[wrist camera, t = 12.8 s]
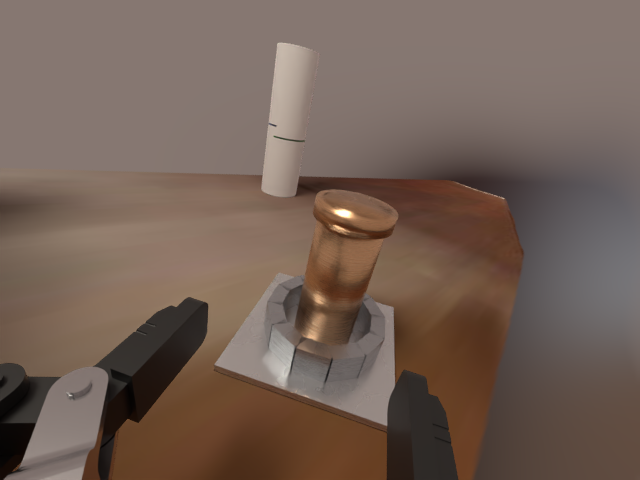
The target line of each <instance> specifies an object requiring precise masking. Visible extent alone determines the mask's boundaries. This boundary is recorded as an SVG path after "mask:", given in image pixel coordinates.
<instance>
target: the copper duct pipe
mask: <svg viewBox="0 0 640 480" xmlns="http://www.w3.org/2000/svg"><path fill="white" fill-rule="evenodd" d="M313 215H314V217H315V218H316V219H317V222H316V227H315V231H314V236H313V241H312V245H311V250H310V254H309V259H308V264H307V268H306V273H305V277H304V282H303V287H302V291H301V296H300V300H299V305H298V309H297V314H296V319H295V323H294V328H295V329H296V330H297V331H298V332H300V333H301V334H302V335H303V336H304V337H306V338H309V339H312V340H315V341H318V342H321V343H324V344H327V345H330V346H333V345H343V344H348V343H349V340H350V337H351V334H352V331H353V328H354V325H355V322H356V319H357V316H358V313H359V311H360V308H361V305H362V302H363V299H364V296H365V293H366V290H367V287H368V284H369V281H370V279H371V276H372V273H373V270H374V267H375V264H376V261H377V258H378V255H379V252H380V249H381V247H382V244H383V241H384V238H387V237H389V236H390V235H392V233H393V230H394V227H395V224H396V222H397V219H398V213H397V211H396V210H395V209H394V208H392V207H391V206H390V205H388V204H386V203H384V202H382V201H380V200H378V199H375V198H373V197H370V196H367V195H364V194H360V193H356V192H351V191H345V190H324V191H320V192H319V193H317V195H316V200H315V205H314V210H313Z"/></svg>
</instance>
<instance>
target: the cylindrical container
mask: <svg viewBox="0 0 640 480" xmlns="http://www.w3.org/2000/svg"><path fill="white" fill-rule="evenodd" d="M319 56H320V54H319V53H318V52H316V51H314V50H311V49H308V48H304V47H301V46H297V45H293V44H288V43H278V44H277V53H276V62H275V71H274V80H273V89H272V98H271V106H270V107H271V108H270V116H269V125H268V134H267V143H266V151H265V160H264V169H263V178H262V187H261V189H262V191H263V192H265V193H267V194H269V195H272V196H277V197H293V196H295V195H296V191H297V185H298V179H299V173H300V167H301V161H302V155H303V150H304V143H305V138H306V132H307V126H308V120H309V114H310V109H311V103H312V96H313V90H314V85H315V79H316V73H317V67H318V62H319Z"/></svg>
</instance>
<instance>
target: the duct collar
mask: <svg viewBox="0 0 640 480" xmlns="http://www.w3.org/2000/svg"><path fill="white" fill-rule="evenodd" d="M304 277H305V275H300V276H297V277H292V276H289V275H286V274H282V273H278V274H277V276H276V277H275V279H274V280H273V281H272V283H271V284H270V286H269V287H268V289H267V290H266V291H265V293H264V294H263V296H262V297H261V299H260V300H259V301H258V303H257V304H256V306H255V307H254V309H253V310H252V312H251V313H250V314H249V316H248V317H247V319H246V320H245V322H244V323H243V324H242V326H241V327H240V329H239V330H238V332H237V333H236V334H235V336H234V337H233V339H232V340H231V342H230V343H229V345H228V346H227V347H226V349H225V350H224V352H223V353H222V355H221V356H220V357H219V359H218V360H217V362H216V363H215V365H214V371H217V372H220V373H222V374H225V375H228V376H231V377H234V378H236V379H239V380H242V381H245V382H248V383H250V384H253V385H256V386H259V387H262V388H264V389H267V390H270V391H273V392H276V393H278V394H281V395H284V396H287V397H290V398H292V399H295V400H298V401H301V402H304V403H306V404H309V405H312V406H315V407H318V408H320V409H323V410H326V411H329V412H332V413H334V414H337V415H340V416H343V417H346V418H348V419H351V420H354V421H357V422H360V423H362V424H365V425H368V426H371V427H374V428H376V429H379V430H382V431H385V432H387V410H388V403H389V399H390V396H391V393H392V391H393V389H394V387H395V360H394V310H393V307H390V306H387V305H384V304H380V303H377V302H375V301H374V300H373V298H371V297H370V296H369V295H367V294H366V293H365V296H364V299H363V302H362V305H361V308H360V311H359V313H358V316H357V319H356V322H355V325H354V328H353V331H352V334H351V337H350V340H349V343H348V344H343V345H333V346H330V345H327V344H324V343H321V342H318V341H315V340H312V339H309V338H306V337H304V336H303V335H302V334H301V333H300V332H298V331H297V330H296V329H295V328H294V323H295V319H296V314H297V309H298V305H299V300H300V296H301V291H302V287H303V282H304Z"/></svg>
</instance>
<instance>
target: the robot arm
mask: <svg viewBox="0 0 640 480" xmlns="http://www.w3.org/2000/svg"><path fill="white" fill-rule="evenodd" d="M207 323H208V304H207V303H206V302H203V301H200V300H197V299H194V298H191V297H188V298H186V299H185V300H184V301H183V302H182V303H181V304H179V305H178V306H177V307H174V306H169V307H167V308H165V309H163V310H161V311H158V312H157V313H155V314H154V315H153V316H152V317H151V318H150V319H148V320H147V321H146V323H145V324H143V325H142V326H140V327H139V328H138V329H137V331H136V332H133V333H132V334H131V335H130V336H129V337H128V338H126V339H125V340H124V341H123V342H122V343H121V344H120V345H118V346H117V347H116V348H115V349H114V350H113V351H111V352H110V353H109V354H108V355H107V356H106V357H105V358H103V359H102V360H101V361H100V362H99V363H97V364H96V365H95V366H93V367H84V368H80V369H77V370H74V371H72V372H70V373H68V374H66V375H64V376H63V377H27V375H26V372H25V370H24V368H23V367H22V366H20V365H18V364H14V363H5V364H0V480H112V475H113V468H114V461H115V454H116V447H117V440H118V433H119V428H120V427H121V426H122V424H123V423H124V422H125V421H126V420H127V419H130V420H132V421H135V422H137V423H139V422H140V420H141V419H142V418H143V417H144V415H145V414H146V413H147V412H148V410H149V409H150V408H151V407H152V405H153V404H154V403H155V402H156V400H157V399H158V398H159V397H160V395H161V394H162V393H163V392H164V390H165V389H166V388H167V387H168V386H169V384H170V383H171V382H172V381H173V379H174V378H175V377H176V376H177V374H178V373H179V372H180V371H181V369H182V368H183V367H184V366H185V364H186V363H187V362H188V361H189V359H190V358H191V357H192V356H193V354H194V353H195V352H196V351H197V349H198V348H199V347H200V346H201V344H202V343H203V341H204V339H205V337H206V334H207ZM448 430H449V427H448V422H447V417H446V412H445V410H444V408H443V407H442V405H441V403H440V401H439V399H438V397H436V396H433V395H430V394H428V387H427V380H426V378H425V376H422V375H419V374H416V373H413V372H410V371H407V370H404V371H403V372H402V374H401V376H400V378H399V380H398V382H397V384H396V385H395V387H394V389H393V391H392V393H391V396H390V399H389V403H388V410H387V480H458V476H457V470H456V465H455V460H454V454H453V449H452V446H451V438H450V433H449V432H448ZM21 462H22V463H21ZM20 463H21V465H20V467H19V468H18V469H17V470H16V471H13V470H14V469H15V468H16V467H17V466H18V465H19V464H20ZM12 471H13V472H12Z"/></svg>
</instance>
